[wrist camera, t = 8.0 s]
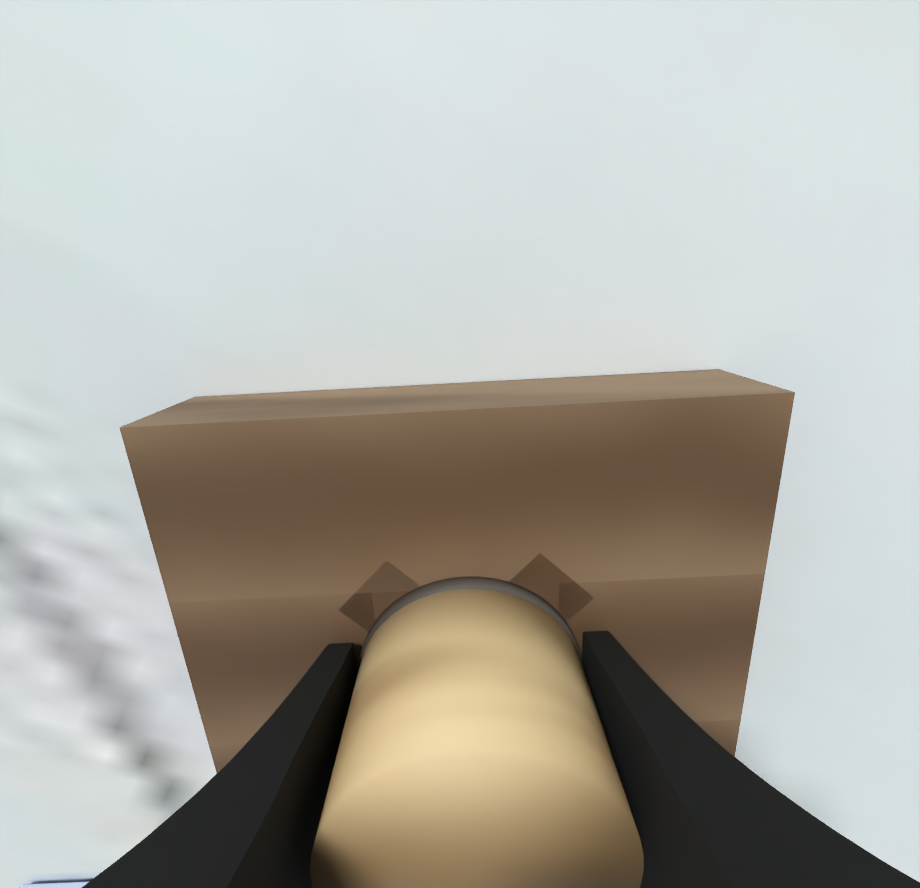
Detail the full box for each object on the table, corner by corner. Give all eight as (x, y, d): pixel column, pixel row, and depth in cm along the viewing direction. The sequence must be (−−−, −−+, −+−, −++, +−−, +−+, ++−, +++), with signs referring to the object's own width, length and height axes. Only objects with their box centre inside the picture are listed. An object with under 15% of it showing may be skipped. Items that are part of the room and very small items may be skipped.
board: (676, 741, 17) (721, 835, 14) (276, 759, 17) (239, 855, 14) (718, 369, 13) (795, 392, 10) (194, 397, 13) (119, 428, 10)
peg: (558, 673, 15) (637, 971, 9) (387, 683, 15) (333, 986, 9) (558, 518, 14) (657, 739, 7) (366, 529, 14) (278, 759, 7)
